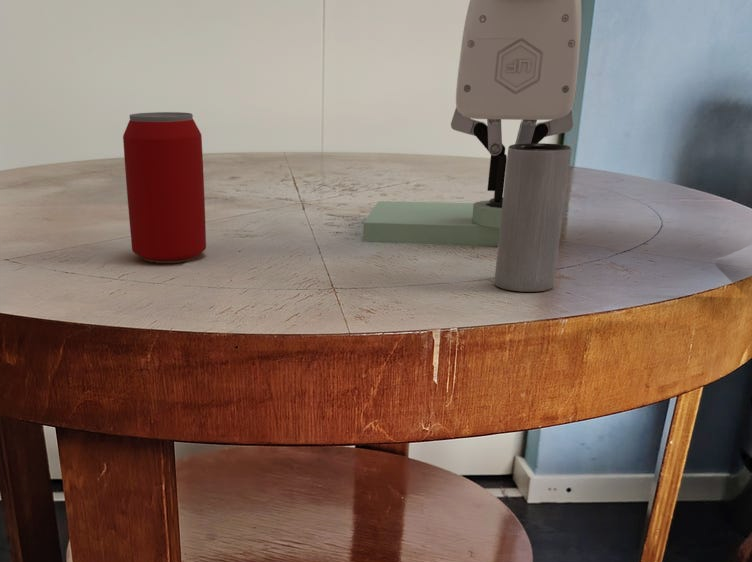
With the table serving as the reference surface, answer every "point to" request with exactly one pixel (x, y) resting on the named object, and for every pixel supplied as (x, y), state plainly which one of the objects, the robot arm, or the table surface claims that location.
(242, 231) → the table surface
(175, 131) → the beverage can
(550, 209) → the grey cylinder
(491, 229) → the green flat block
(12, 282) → the table surface
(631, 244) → the table surface
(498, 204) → the button
